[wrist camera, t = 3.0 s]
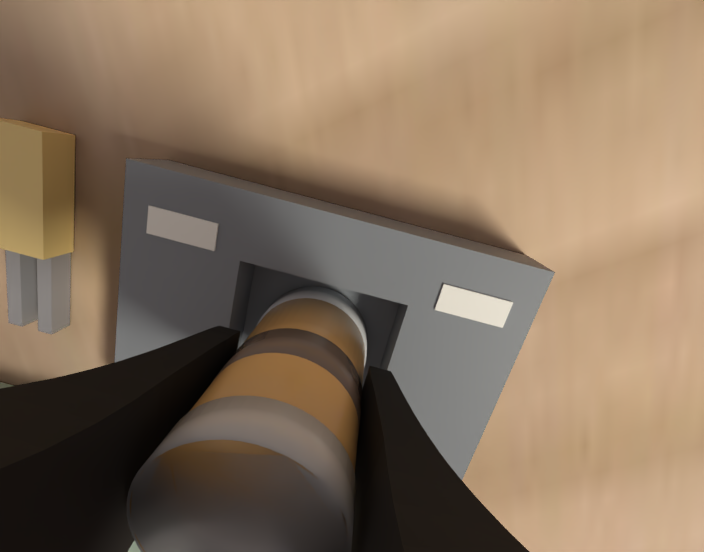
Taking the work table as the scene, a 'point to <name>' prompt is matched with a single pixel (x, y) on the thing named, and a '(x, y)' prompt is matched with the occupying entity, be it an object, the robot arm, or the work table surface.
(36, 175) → the puller tool
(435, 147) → the work table surface
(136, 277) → the fuse block
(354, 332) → the fuse
